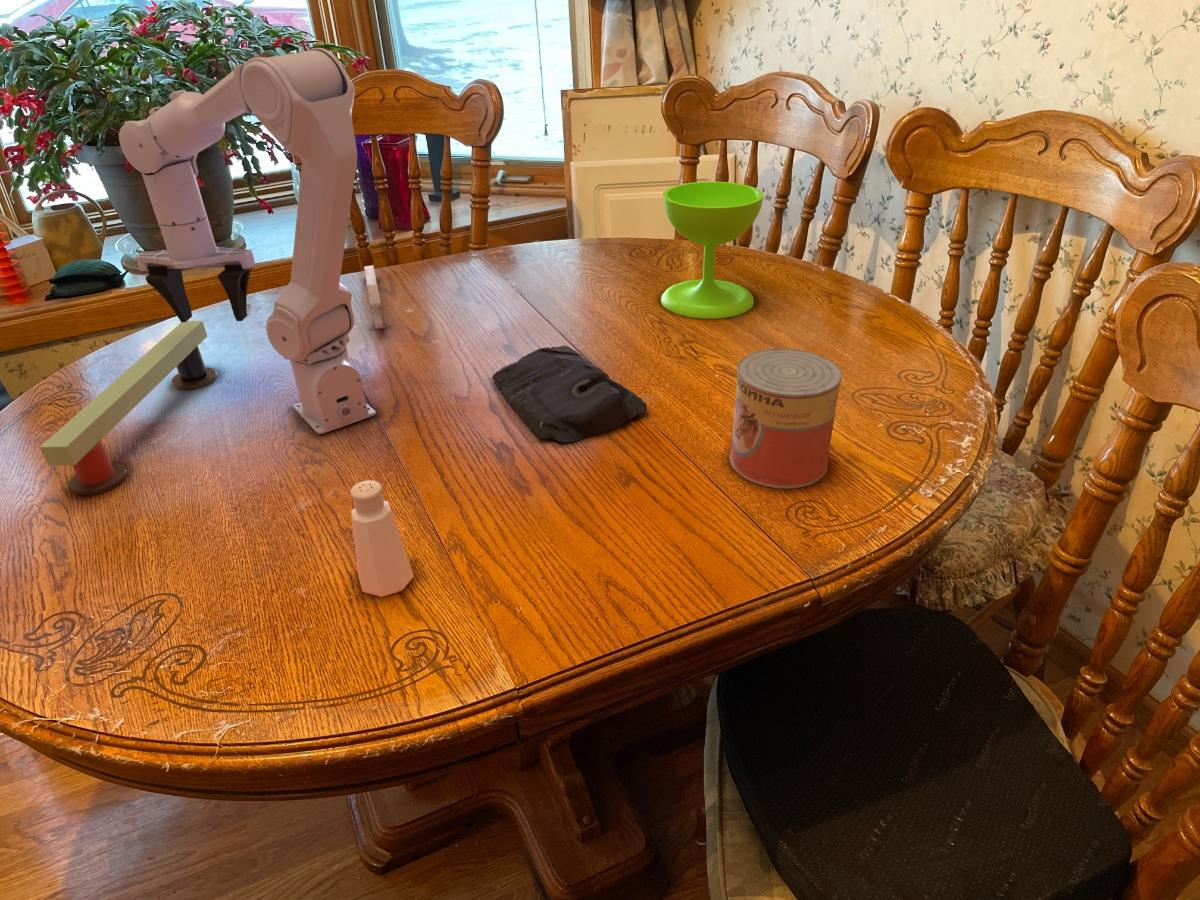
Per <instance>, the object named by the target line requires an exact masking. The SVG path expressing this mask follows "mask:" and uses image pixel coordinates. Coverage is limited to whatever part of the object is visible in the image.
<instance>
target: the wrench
mask: <svg viewBox="0 0 1200 900" xmlns="http://www.w3.org/2000/svg"><path fill="white" fill-rule="evenodd" d="M363 268H364V274H365V281H366V283H365V287H366V292H367V296H368V303H369V308H370V311H371V316H372V321H373V327H374V329H375V330H377V329H384V328H386V325H385V318H384V315H383V309H382V300H381V295H380V291H379V286H378V282H377V278H376V274H375V267H374V264H373V265H372V264H371V265H365V266H363Z"/></svg>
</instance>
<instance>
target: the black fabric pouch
mask: <svg viewBox="0 0 1200 900" xmlns="http://www.w3.org/2000/svg"><path fill="white" fill-rule="evenodd" d="M491 379H492V380H493V382H494V384H495V386H496V387H497V388H498V391H500V394H501V395H503V397H504V398H505V400H506V402H507V404H509V406H510V407H511V408H512V410H513V411H514V412H515V413H516V414H517V416H519V418H520V419H521V420H522V422H524V423H525V425H527V426H528V427H529V430H530V431H532V432H533V434H535V435H536V436H537V438H538V439H542V440H547V441H551V440H552V439H553V440H554V441H556V442H557V443H558V444H561V445H565V444H567V443H573V442H576V441H577V442H578V441H581V440H582V439H584V438H586V437H591V436H597V435H599V434H604V433H605V434H606V433H608V432H610V431H614V430H616V429H618V428H621V427H623V425H624V424H625V423H626V422H630V421H632V420H633V419H634V418H636V417H637V415H639V414H643V413H646V412H647V411H648V408H647V407H648V405H647V402H645V401H643V399H642V398H641V397H640V396H639V395H637V394H636V393H634V392H633V391H632V390H630V389H629V388H626V386H623V385H622V384H620V383H618V382H617V381H615V380H613V379H612V378H610V375H609V374H607V372H604V371H603V369H602V368H599V367H598V366H596V365H595V364H593V362H591V361H589V360H587V359H586V358H585V357H583V356H582V355H581V354H580V353H579V352H577V351H576V350H575V349H573V348H572V347H570V346H567V345H559V346H551V347H550V346H547V347H541V348H538V349H535V350H533V351H532V352H530V353H528V354H526V355H524V356H522V357H520V358H518V360H517V361H514V362H512V363H510V364H507V365H505V366H502V367H501V368H500V369H499V370H497V371H495V373H493V374H492V376H491Z"/></svg>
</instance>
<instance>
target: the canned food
mask: <svg viewBox="0 0 1200 900" xmlns="http://www.w3.org/2000/svg"><path fill="white" fill-rule="evenodd" d="M736 373H737V374H736V376H737V377H736V388H735V389H736V390H735V399H734V400H735V401H734V402H735V403H734V413H733V414H734V415H733V427H732V439H731V450H730V454H729V462H730V465H731V466H732V468H733V470H734V471H735V472H736V473H737V474H738V475H739V476H740V477H742V478H744V479H745V480H747V481H749V482H751V483H754V484H757V485H759V486H762V487H765V488H766V487H767V488H773V489H783V490H786V489H787V490H788V489H789V490H791V489H792V490H793V489H799V488H800V489H801V488H804V487H807V486H810V485H813V484H815V483H817V482H819V481H820V480H821V479H822V478H824V477H825V475H826V473H827V471H828V465H829V464H828V460H829V456H830V455H829V454H830V448H831V443H832V436H833V430H834V429H833V428H834V423H835V416H836V411H837V404H838V398H839V392H840V387H841V382H842V380H843V379H842V378H843V374H842V370H841V368H840V367H839V366H838V364H836V363H835V362H834V361H833V360H830V359H829V358H827V357H825V356H823V355H820V354H818V353H815V352H811V351H807V350H802V349H797V348H769V349H762V350H758V351H754V352H751V353H750V354H747V355H746V356H744V357H743V358H742V359H740V361H738V364H737V366H736Z"/></svg>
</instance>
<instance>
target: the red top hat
mask: <svg viewBox="0 0 1200 900" xmlns="http://www.w3.org/2000/svg"><path fill="white" fill-rule="evenodd" d="M71 466H72V468H73V471H74V472H75V475H73V476H72V477H71V479H70V480H69V482H68V488H69V490H70V491H71V493H72V494H74V495H77V496H84V497H85V496H86V497H87V496H94V495H99V494H102V493H106V492H109V491H110V490H111V491H112V490H113V489H115V488H116V487H118V486H119V485H121V484H122V483H123V482H124V481H125V480H126V478H127V477H128V470H127V468H126V467H125V466H124V464H122V463H119V462H118V463H117V462H111V460H110V458H109V456H108V453H107V452H106V449H105V447H104V445H103V442H102V439H101V440H100V441H99V442H98V443H97V444H96V445H95V446H94V447H93V448H92V449H91V450H90V451H89V452H88V453H87V454H86V455H85V456H84V457H83V458H82V459H81V460H80V461H79V462H78V463H77V464H76V465H71Z"/></svg>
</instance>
